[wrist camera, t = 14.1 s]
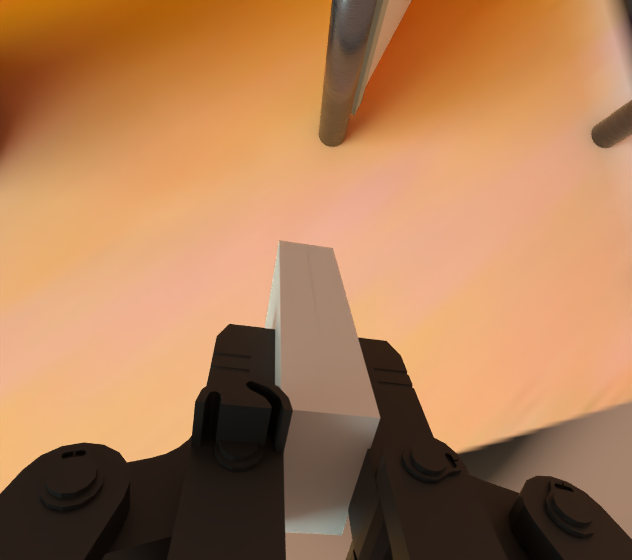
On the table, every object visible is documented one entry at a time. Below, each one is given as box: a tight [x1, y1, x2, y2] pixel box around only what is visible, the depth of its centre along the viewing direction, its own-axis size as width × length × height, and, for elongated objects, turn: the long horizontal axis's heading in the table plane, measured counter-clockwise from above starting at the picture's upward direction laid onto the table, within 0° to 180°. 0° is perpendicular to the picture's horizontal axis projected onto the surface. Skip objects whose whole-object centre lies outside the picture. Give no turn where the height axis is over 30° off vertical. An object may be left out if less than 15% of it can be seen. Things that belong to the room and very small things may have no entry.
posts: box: [319, 0, 632, 148], centre depth 32 cm, size 27×2×20 cm, turn 91°
